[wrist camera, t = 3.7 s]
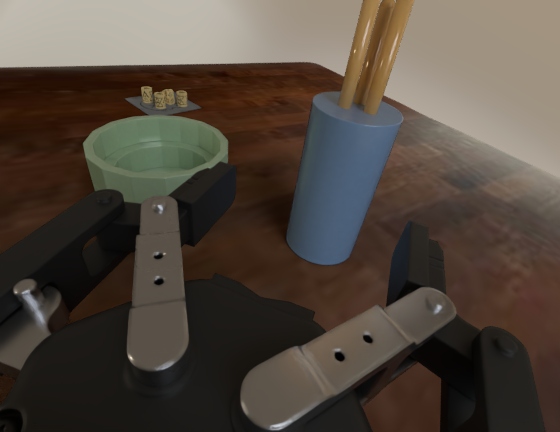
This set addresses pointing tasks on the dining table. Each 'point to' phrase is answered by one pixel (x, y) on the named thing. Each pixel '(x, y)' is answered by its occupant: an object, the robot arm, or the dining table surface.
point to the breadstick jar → (348, 141)
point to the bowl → (151, 154)
